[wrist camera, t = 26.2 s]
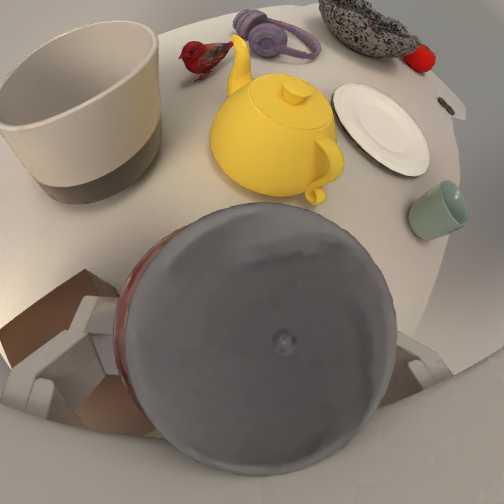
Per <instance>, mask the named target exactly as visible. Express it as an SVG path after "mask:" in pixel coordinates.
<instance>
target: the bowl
mask: <svg viewBox="0 0 504 504" xmlns="http://www.w3.org/2000/svg"><path fill="white" fill-rule="evenodd" d="M319 4H320V5H319V10H320V12H321V15H322V18H323V20H324V22H325V24H326V25H327V26H328V28H329V29H330V31H331V32H332V33H333V34H334V35H335V36H336V37H337V38H338V39H339V40H340V41H341V42H342V43H344V44H345V45H346V46H348V47H349V48H351V49H353V50H355V51H357V52H359V53H363V54H365V55H368V56H373V57H379V58H393V57H401V56H404V55H408V54H411V53H413V52H415V51H416V50H417V48H418V47H419V46H420V44H421V41H420V40H419V39H418V37H417V36H415V35H413V36H412V35H411V34H410V33H409V32H407V31H406V30H407V28H406V27H405V26H404V25H403V24H402V23H400V22H399V21H396V20H395V19H393V18H390V17H385V16H384V15H382V14H380V13H379V12H377V11H375V10H374V9H373V8H372V4H371V3H369V2H367V1H365V0H319Z"/></svg>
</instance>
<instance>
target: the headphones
mask: <svg viewBox="0 0 504 504" xmlns="http://www.w3.org/2000/svg"><path fill="white" fill-rule="evenodd" d="M233 28H234V29H236V31H237V33H238V34H239V35H241V36H242V35H244V36H243V38H246V39H248V42H249V46H250V48H251V49H252V50H253V51H254V52H255V53H256V54H258V55H261V56H265V57H270V56H275V55H278V54H286V55H290V56H293V57H298V58H303V59H305V58H306V59H315V58H316V57H317V55H318V54H319V52H320V51H321V45H320V43H319V42H318V40H317V39H316V38H315V37H314V36H312V35H311V34H309V33H308V32H306V31H304V30H302V29H300V28H298V27H295V26H293V25H290V24H288V23H285V22H281V21H277V20H273V19H270V18H268V17H267V15H266V14H265V13H263V12H261V11H258V10H248V9H247V10H243V11H241V12H240V13H238V14H237V16H236V17H235V18H234V21H233ZM282 28H283V29H285V30H287V31H289V32H291V33H292V34H294V35H295V36H297V37H298V38H299V39H301V40H302V41H303V42H304V43H305V44H306V45H307V46H309V48H310V49H311V50H312V51H313V52H314V53H312V54H307V53H306V52H302V51H299V50H295V49H292V48H289V47H287V46H286V45H287V35H286V33H285V31H284V30H283V29H282Z"/></svg>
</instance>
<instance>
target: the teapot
mask: <svg viewBox="0 0 504 504" xmlns="http://www.w3.org/2000/svg"><path fill="white" fill-rule="evenodd" d="M232 41H233V44H234V48H235V60H234V63H233V66H232V69H231V72H230V75H229V78H228V82H227V92H228V99H227V100H226V101H225V102H224V103H223V105H222V106H221V107H220V109H219V111H218V112H217V114H216V116H215V118H214V121H213V124H212V127H211V132H210V145H211V149H212V152H213V154H214V157H215V159H216V161H217V162H218V164H219V165H220V167H221V168H222V169H223V170H224V172H225V173H226V174H227V175H228V176H229V177H230V178H232V179H233V180H234V181H236V182H237V183H238V184H240V185H242V186H243V187H245V188H247V189H249V190H252V191H254V192H257V193H260V194H264V195H268V196H276V197H287V196H294V195H298V194H302V193H305V197H306V199H307V200H308V201H309V202H310V203H311V204H314V205H319V204H322V203H323V202H324V201H325V200H326V192H325V190H324V189H323V188H322V187H321V186H324V185H326V184H328V183H331V182H332V181H334V180H336V179H337V178H338V177H339V176H340V175H341V173H342V172H343V169H344V158H343V155H342V152H341V150H340V148H339V146H338V145H337V144H336V142H337V141H336V127H335V120H334V115H333V111H332V108H331V106H330V103H329V102H328V100H327V99H326V98H325V96H324V95H323V94H322V93H321V92H320V91H319V90H318V89H317V88H315V87H314V86H313V85H311V84H310V83H308V82H306V81H304V80H302V79H299V78H297V77H294V76H290V75H285V74H268V75H263V76H260V77H258V78H256V79H254V80H253V78H252V75H251V67H250V53H249V49H248V46H247V44H246V43H245V41H244V40H243V39H242V38H241V37H239V36H238V35H232ZM328 171H329V172H328Z"/></svg>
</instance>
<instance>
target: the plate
mask: <svg viewBox="0 0 504 504" xmlns="http://www.w3.org/2000/svg"><path fill="white" fill-rule="evenodd" d="M333 103H334V108H335V112H336V114H337V116H338V118H339V120H340V122H341V124H342V125H343V126H344V128H345V129H346V131H347V132H348V133H349V135H350V136H351V137H352V138H353V139H354V140H355V142H356V143H357V144H358V145H359V146H360V147H361V148H362V149H363V150H364V151H365V152H366V153H368V154H369V155H370V156H371V157H373V158H374V159H375V160H376V161H377V162H379V163H380V164H382V165H384V166H385V167H387V168H388V169H390V170H392V171H394V172H396V173H399V174H402V175H404V176H412V177H416V176H419V175H422V174H424V173H425V171H426V170H427V169H428V167H429V162H430V156H429V149H428V146H427V143H426V140H425V138H424V136H423V134H422V132H421V131H420V129H419V127H418V126H417V124H416V123H415V122H414V120H413V119H412V118H411V116H410V115H409V114H408V113H407V112H406V111H405V110H404V109H403V108H402V107H401V106H400V105H398V104H397V103H396V102H395V101H394V100H392V99H391V98H389V97H388V96H386V95H385V94H383V93H382V92H380V91H378V90H375V89H373V88H371V87H368V86H365V85H361V84H350V83H348V84H345V85H341V86H340V87H339V88H338V89H337V90H336V91H335V93H334V97H333Z"/></svg>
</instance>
